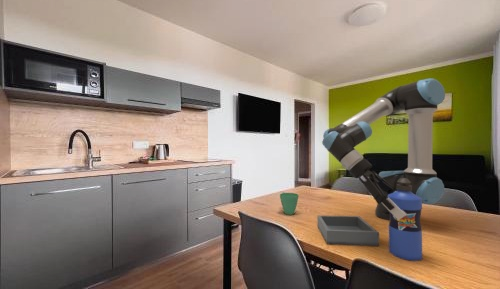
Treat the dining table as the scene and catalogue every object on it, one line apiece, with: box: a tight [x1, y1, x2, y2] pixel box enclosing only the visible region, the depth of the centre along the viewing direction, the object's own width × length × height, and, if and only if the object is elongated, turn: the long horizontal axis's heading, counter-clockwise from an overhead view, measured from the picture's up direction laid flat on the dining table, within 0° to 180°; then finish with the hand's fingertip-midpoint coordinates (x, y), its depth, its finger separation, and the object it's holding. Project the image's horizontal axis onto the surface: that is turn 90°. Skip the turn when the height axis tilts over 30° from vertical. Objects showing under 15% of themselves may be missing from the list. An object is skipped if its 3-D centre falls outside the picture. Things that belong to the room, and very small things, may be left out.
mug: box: [279, 191, 299, 216], centre depth 121 cm, size 15×10×10 cm
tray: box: [316, 214, 380, 247], centre depth 89 cm, size 18×18×5 cm
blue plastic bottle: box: [388, 178, 423, 262], centre depth 73 cm, size 9×9×25 cm
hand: (405, 212), depth 73 cm, fingers open, 13 cm apart
